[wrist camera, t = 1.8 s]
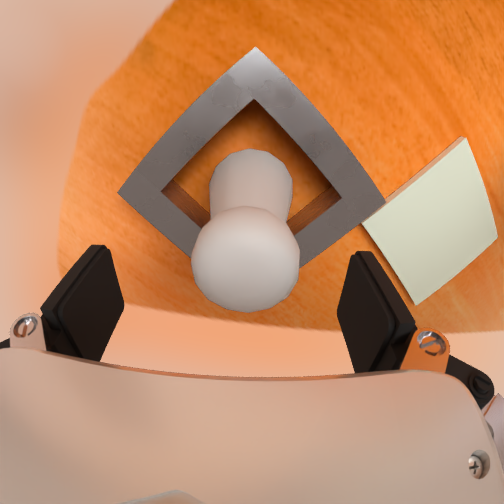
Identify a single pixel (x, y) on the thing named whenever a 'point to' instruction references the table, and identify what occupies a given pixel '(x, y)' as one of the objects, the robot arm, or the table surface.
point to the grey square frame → (292, 121)
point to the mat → (435, 222)
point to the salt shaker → (247, 235)
